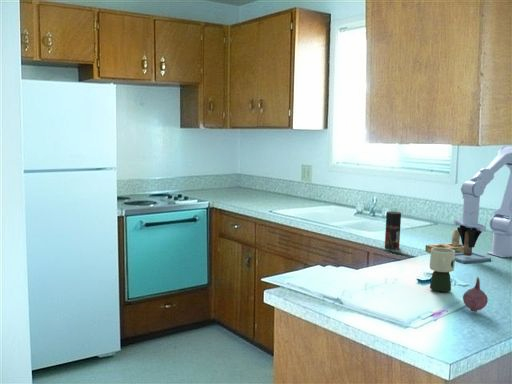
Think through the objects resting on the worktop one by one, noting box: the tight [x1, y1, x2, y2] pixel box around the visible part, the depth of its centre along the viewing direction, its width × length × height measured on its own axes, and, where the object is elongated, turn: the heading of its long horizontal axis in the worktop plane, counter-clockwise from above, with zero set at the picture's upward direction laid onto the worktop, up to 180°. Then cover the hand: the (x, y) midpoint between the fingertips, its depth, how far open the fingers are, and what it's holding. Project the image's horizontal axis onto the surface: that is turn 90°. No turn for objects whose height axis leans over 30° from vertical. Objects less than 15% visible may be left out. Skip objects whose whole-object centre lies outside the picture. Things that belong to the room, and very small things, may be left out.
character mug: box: [429, 247, 456, 293], centre depth 165 cm, size 11×7×13 cm, turn 167°
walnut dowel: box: [463, 232, 473, 256], centre depth 208 cm, size 3×3×9 cm
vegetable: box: [462, 276, 488, 313], centre depth 146 cm, size 6×6×10 cm
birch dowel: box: [451, 228, 461, 247], centre depth 221 cm, size 3×3×9 cm
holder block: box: [424, 242, 464, 254], centre depth 220 cm, size 16×8×2 cm, turn 113°
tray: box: [455, 251, 492, 264], centre depth 209 cm, size 14×10×1 cm
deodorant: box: [384, 211, 402, 250], centre depth 224 cm, size 6×6×15 cm
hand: (468, 246), depth 208 cm, fingers closed on walnut dowel, 3 cm apart
